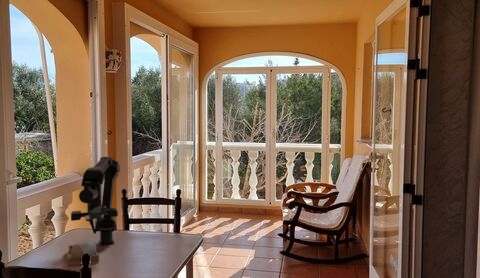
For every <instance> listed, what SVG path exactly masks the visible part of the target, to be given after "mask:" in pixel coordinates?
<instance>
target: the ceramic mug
mask: <svg viewBox="0 0 480 278" xmlns="http://www.w3.org/2000/svg"><path fill="white" fill-rule="evenodd" d="M95 243H96V241H94V240H93V239H92V238H89V237H86V238H85V239H82V240H81V241H79V242H77V243H75V244H72V245H73V246H72V248H71V253H70V255H71V257H72V258H79V257H81V256H82V255H83V254H84V253H88V254H89V255H90V256H94V255H99V254H98V252H97V243H96V244H95Z"/></svg>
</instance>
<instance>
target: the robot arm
mask: <svg viewBox="0 0 480 278" xmlns="http://www.w3.org/2000/svg"><path fill="white" fill-rule="evenodd" d="M120 172H121V166H120V164H119V162H118V161H117V160H115V159H113V157H112V156H101V157H100V159H99V160H98V162H97V163H96V164H95V165H94V166H93V167H88V168H87V169H86V170H85V171H84V172H83V176H82V181H81V184H80V185H81V187H83V189H82V190H81V191H80V192H79V194H78V199H79V201H80V202H81V203H83V204H87V207H86V209H87V212H86V211H85V212H82V211H81V210H73V211H71V212H70V221H80V220H81V219H82V218H84V219H85V221H86V222H88V223H89V225H90V226H91V229H92V231H93V234H94V235H95V234H97V232H99V237H100V238H99V240H98V244H99V246H108V245H113V244H115V241H114V237H113V236H114V235H113V233H114V232H115V231H117V230H118V228H117V227H118V226H117V222H116V220H115V219H116V218H115V217H119V216H118V215H119V213H118V209H117V208H116V207H112V206H113V195H114V188H115V187H114V185H115V181H116V179H117V178H118V176H119V173H120ZM102 185H103V188H102ZM102 189H103V191H102ZM94 220H95V221H94Z"/></svg>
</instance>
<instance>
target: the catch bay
mask: <svg viewBox="0 0 480 278" xmlns="http://www.w3.org/2000/svg"><path fill="white" fill-rule="evenodd" d="M95 244H96V245H97V242H95ZM73 245H74V244H72V245H67V267H75V266H81V257H79V258H73V257H72V258H71V257H70V255H71V248H72V246H73ZM98 262H99V263H100V255H99V254H98V255H95V254H94V255H92V256H91V264H97V263H98Z"/></svg>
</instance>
